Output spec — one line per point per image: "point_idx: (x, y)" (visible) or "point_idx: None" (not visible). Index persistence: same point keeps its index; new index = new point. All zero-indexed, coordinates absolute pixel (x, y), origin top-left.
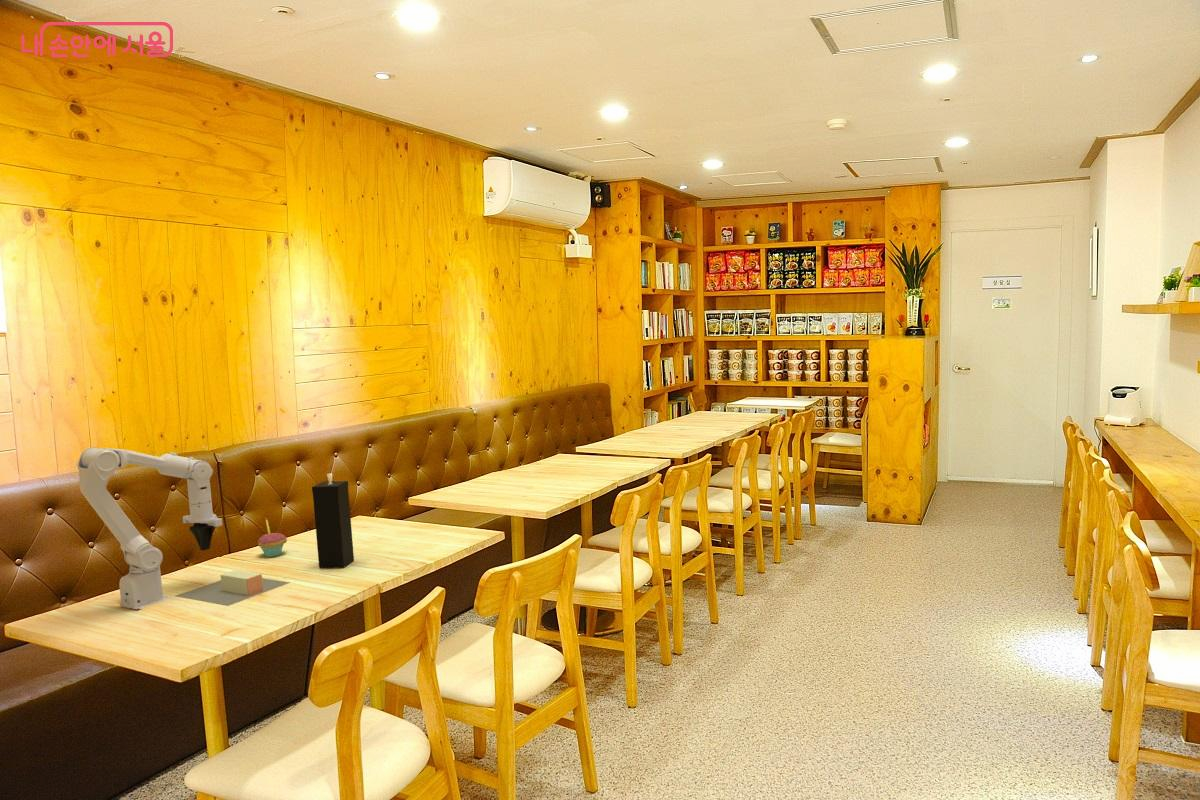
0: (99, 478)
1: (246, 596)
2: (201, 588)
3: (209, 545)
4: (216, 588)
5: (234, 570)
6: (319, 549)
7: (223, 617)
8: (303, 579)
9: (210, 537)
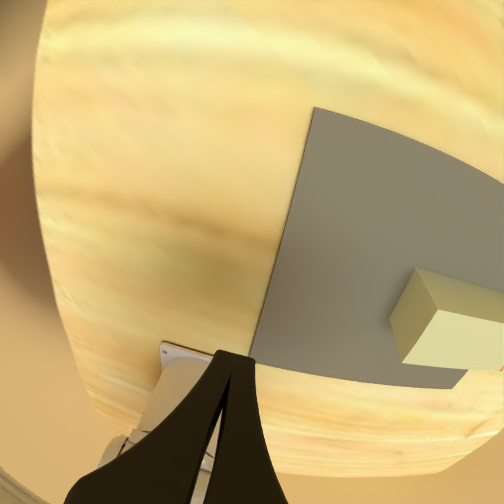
0: None
1: None
2: (286, 304)
3: (254, 383)
4: (351, 300)
5: (437, 312)
6: None
7: (453, 410)
8: None
9: (256, 441)
